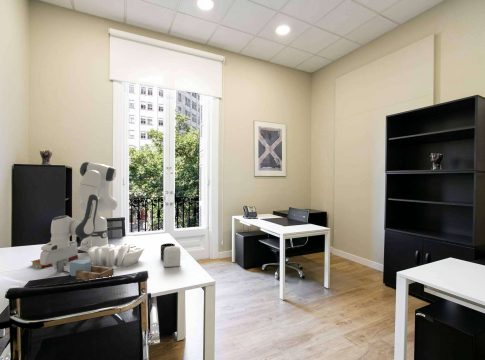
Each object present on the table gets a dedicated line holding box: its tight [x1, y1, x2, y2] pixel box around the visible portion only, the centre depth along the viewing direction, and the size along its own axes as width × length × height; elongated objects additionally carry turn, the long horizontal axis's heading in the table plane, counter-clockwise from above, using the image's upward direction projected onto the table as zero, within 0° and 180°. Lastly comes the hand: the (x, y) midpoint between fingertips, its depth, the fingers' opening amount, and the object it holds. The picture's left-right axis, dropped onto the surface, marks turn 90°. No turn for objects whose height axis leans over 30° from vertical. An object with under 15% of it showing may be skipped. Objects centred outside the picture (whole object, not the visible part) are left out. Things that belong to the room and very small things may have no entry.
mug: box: [160, 242, 176, 261], centre depth 171 cm, size 9×12×9 cm
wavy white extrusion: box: [86, 242, 145, 268], centre depth 162 cm, size 35×16×11 cm, turn 91°
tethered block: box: [55, 258, 92, 277], centre depth 142 cm, size 22×5×8 cm, turn 74°
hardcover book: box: [30, 254, 79, 270], centre depth 160 cm, size 12×21×4 cm, turn 152°
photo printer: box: [163, 245, 181, 268], centre depth 157 cm, size 10×4×12 cm, turn 103°
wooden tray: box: [75, 264, 115, 281], centre depth 137 cm, size 16×9×4 cm, turn 74°
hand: (60, 267), depth 145 cm, fingers closed on tethered block, 4 cm apart
